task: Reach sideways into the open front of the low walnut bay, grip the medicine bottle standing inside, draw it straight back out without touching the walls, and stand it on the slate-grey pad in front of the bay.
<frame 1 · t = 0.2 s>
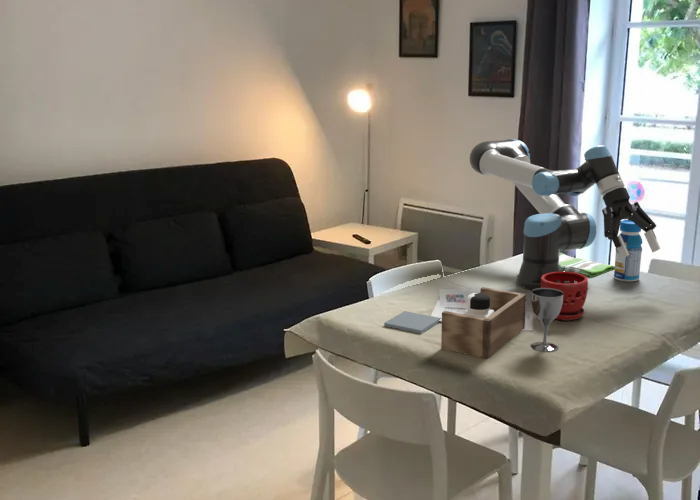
hand: (641, 253, 226), 15 cm above the table, tool tilted 35°, fingers open, 13 cm apart
beverage bottle: (626, 279, 253), on the table
wine glass: (544, 347, 194), on the table
grey pad: (412, 323, 213), on the table
plant pot: (562, 316, 218), on the table
medicine bottle: (477, 337, 202), on the table
dish towel: (574, 269, 269), on the table
walnut bay: (477, 336, 202), on the table
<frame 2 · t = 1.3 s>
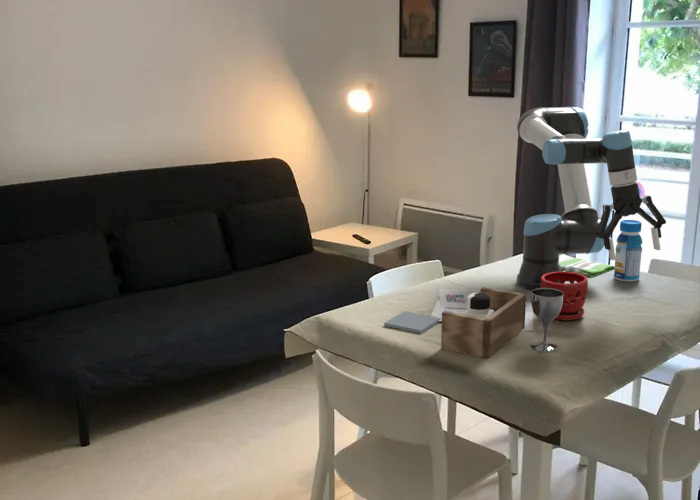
hand: (635, 254, 219), 17 cm above the table, tool pointing down, fingers open, 13 cm apart
nothing on the table moved.
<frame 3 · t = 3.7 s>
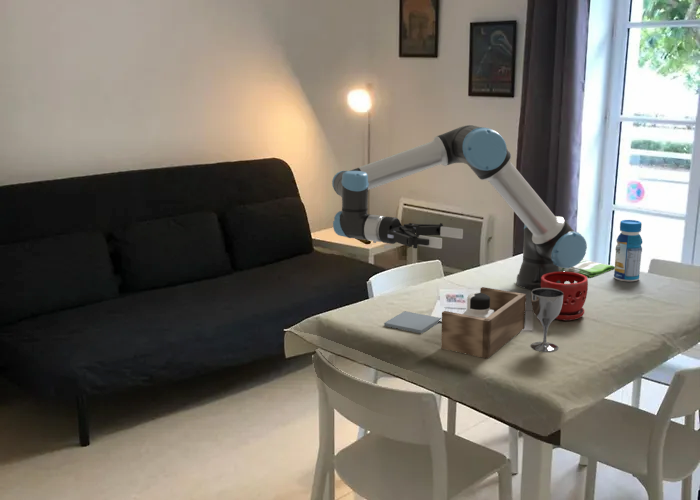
hand: (452, 238, 200), 26 cm above the table, tool horizontal, fingers open, 13 cm apart
nothing on the table moved.
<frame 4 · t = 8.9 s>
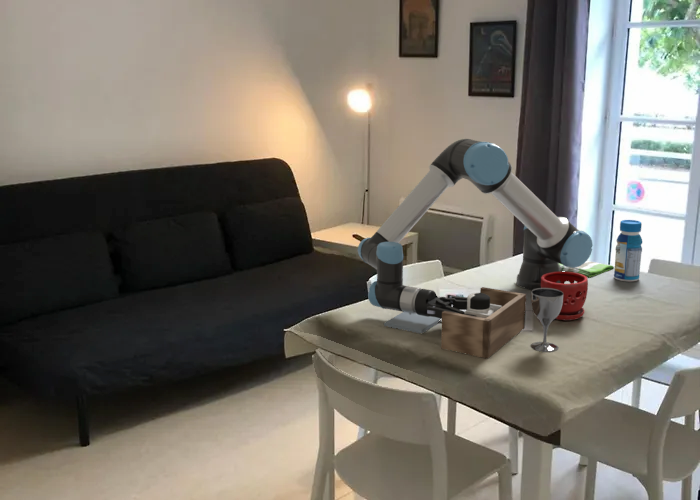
hand: (495, 315, 198), 7 cm above the table, tool horizontal, fingers closed on medicine bottle, 8 cm apart
medicine bottle: (477, 337, 202), on the table, touching gripper
everything else where it was.
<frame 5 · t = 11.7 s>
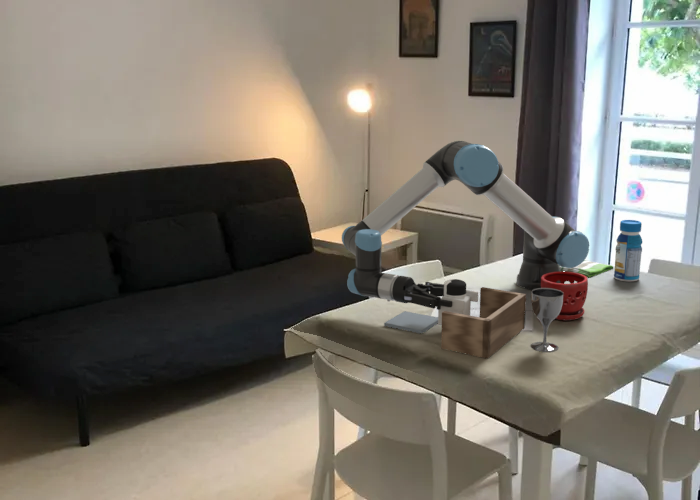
hand: (471, 301, 200), 10 cm above the table, tool horizontal, fingers closed on medicine bottle, 8 cm apart
medicine bottle: (454, 323, 204), point 3 cm above the table, touching gripper
everything else where it was.
when the fingers open (9 cm above the table, at t = 14.8 s): medicine bottle stays where it is, resting on grey pad.
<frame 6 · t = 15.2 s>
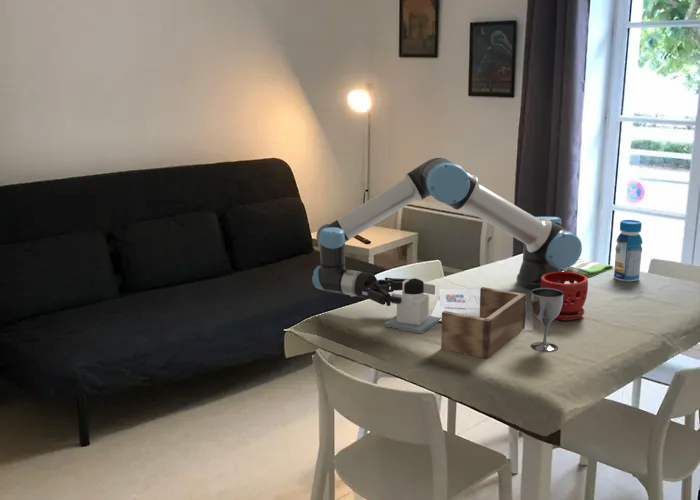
hand: (424, 295, 209), 9 cm above the table, tool horizontal, fingers open, 12 cm apart
medicine bottle: (412, 321, 213), point 1 cm above the table, touching grey pad
everything else where it was.
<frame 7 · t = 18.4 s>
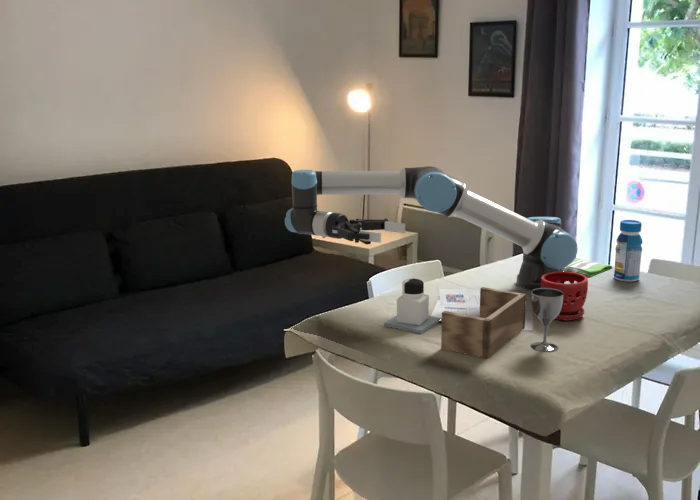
hand: (393, 232, 210), 26 cm above the table, tool horizontal, fingers open, 13 cm apart
nothing on the table moved.
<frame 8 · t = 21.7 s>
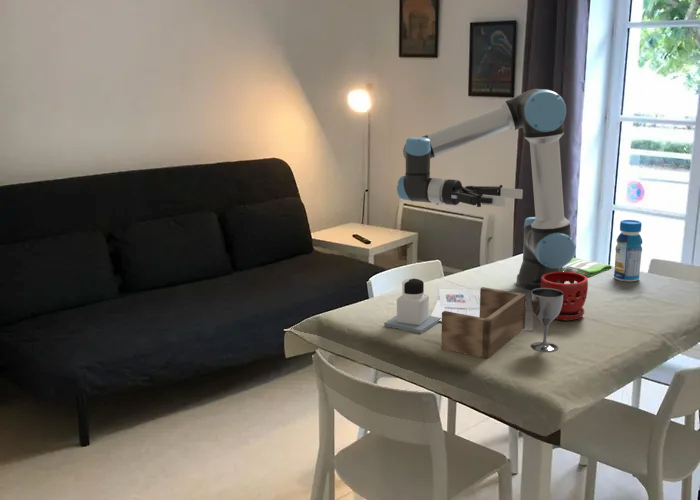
hand: (513, 197, 211), 35 cm above the table, tool horizontal, fingers open, 13 cm apart
at the end: medicine bottle inside the target area on the grey pad (0.1 cm from its centre), point 0.8 cm above the grey pad's base; medicine bottle tilted 0°; the gripper is holding nothing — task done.
